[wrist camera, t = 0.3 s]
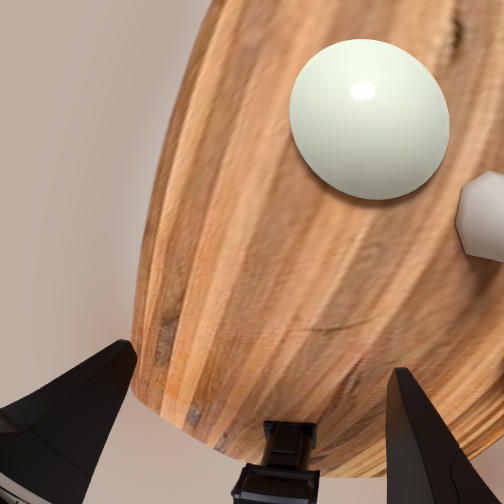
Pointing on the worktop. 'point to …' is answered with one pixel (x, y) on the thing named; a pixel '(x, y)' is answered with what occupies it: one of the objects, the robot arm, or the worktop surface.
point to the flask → (482, 217)
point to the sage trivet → (369, 119)
